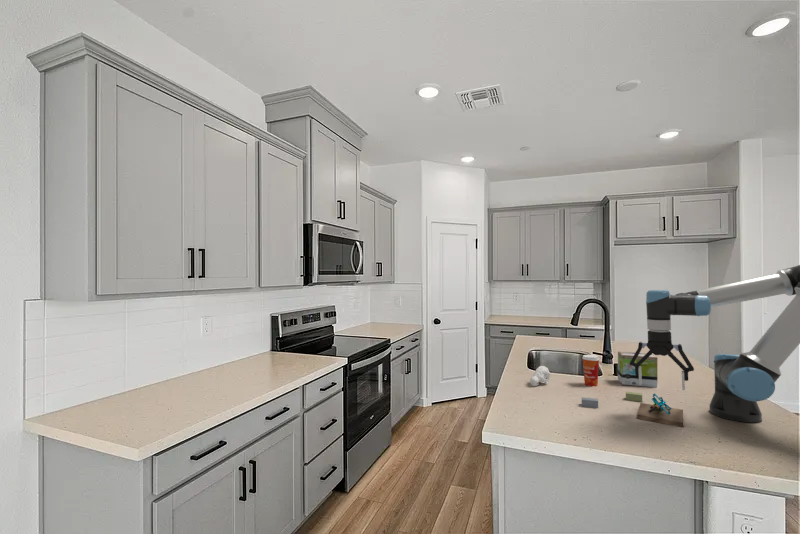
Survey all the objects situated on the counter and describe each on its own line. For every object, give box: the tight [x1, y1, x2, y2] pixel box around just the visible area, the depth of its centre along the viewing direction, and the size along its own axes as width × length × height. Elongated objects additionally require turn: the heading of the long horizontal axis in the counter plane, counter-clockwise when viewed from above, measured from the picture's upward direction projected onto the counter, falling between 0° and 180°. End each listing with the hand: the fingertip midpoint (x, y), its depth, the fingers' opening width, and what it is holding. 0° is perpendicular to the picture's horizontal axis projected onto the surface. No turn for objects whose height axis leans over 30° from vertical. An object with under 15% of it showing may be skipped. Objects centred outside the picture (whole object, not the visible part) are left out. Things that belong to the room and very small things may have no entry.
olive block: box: [625, 391, 643, 403], centre depth 167 cm, size 6×3×3 cm, turn 61°
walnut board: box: [636, 402, 684, 428], centre depth 148 cm, size 14×16×2 cm
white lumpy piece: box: [529, 365, 551, 387], centre depth 190 cm, size 6×8×12 cm
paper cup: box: [581, 354, 600, 387], centre depth 189 cm, size 8×8×14 cm
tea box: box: [617, 350, 658, 389], centre depth 191 cm, size 15×10×15 cm, turn 73°
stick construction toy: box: [649, 393, 673, 415], centre depth 149 cm, size 12×7×8 cm
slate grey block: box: [581, 397, 599, 409], centre depth 159 cm, size 6×3×3 cm, turn 67°
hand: (661, 386), depth 148 cm, fingers open, 13 cm apart
